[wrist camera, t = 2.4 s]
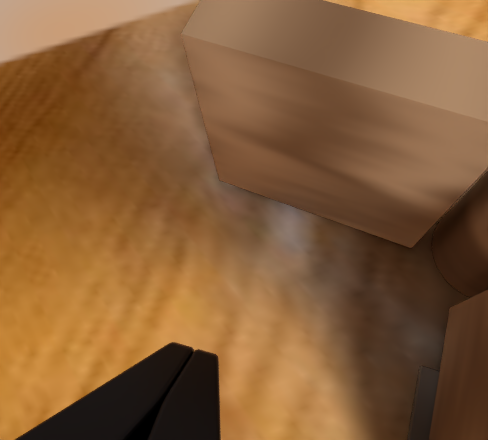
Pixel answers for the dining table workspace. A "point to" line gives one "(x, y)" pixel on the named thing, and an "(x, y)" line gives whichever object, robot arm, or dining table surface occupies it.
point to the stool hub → (459, 329)
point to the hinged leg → (341, 110)
